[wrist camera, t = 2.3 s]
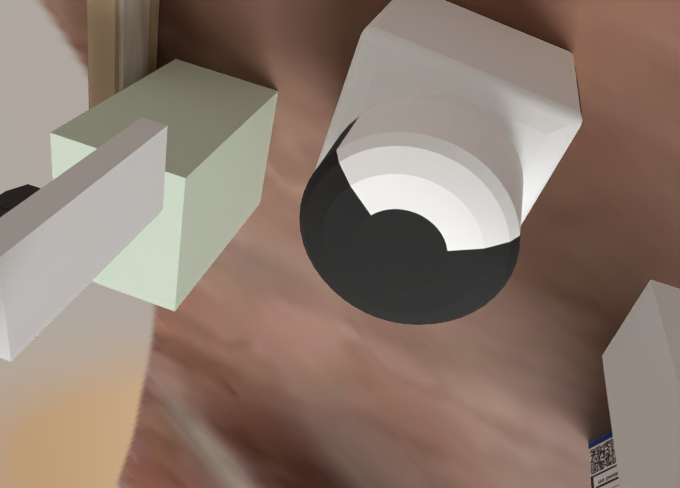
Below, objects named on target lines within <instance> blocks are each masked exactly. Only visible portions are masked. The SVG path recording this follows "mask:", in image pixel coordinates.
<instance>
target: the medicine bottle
mask: <svg viewBox="0 0 680 488" xmlns="http://www.w3.org/2000/svg"><path fill="white" fill-rule="evenodd" d="M582 120H583V119H582V111H581V104H580V96H579V89H578V81H577V74H576V66H575V59H574V56H573V54H572V53H570V52H569V51H567V50H564V49H562V48H559V47H557V46H555V45H552V44H550V43H547V42H545V41H543V40H540V39H538V38H535V37H533V36H530V35H528V34H526V33H523V32H521V31H518V30H516V29H513V28H511V27H509V26H506V25H504V24H501V23H499V22H496V21H494V20H492V19H489V18H487V17H484V16H482V15H480V14H477V13H475V12H472V11H470V10H467V9H465V8H463V7H460V6H458V5H455V4H453V3H450V2H448V1H446V0H392V1H391V2H390V3H389V4H388V5H387V6H386V7H385V8H384V9H383V10H382V11H381V12H380V13H379V14H378V15H377V16H376V17H375V18H374V19H373V20H372V22H371V23H370V24H369V25H368V26H367V27H366V28H365V29H364V30H363V32H362V33H361V36H360V39H359V42H358V45H357V47H356V50H355V53H354V56H353V59H352V62H351V65H350V68H349V71H348V74H347V77H346V80H345V83H344V86H343V89H342V92H341V95H340V98H339V101H338V104H337V107H336V110H335V113H334V115H333V118H332V121H331V124H330V127H329V130H328V133H327V136H326V139H325V142H324V145H323V148H322V151H321V154H320V157H319V160H318V163H317V166H316V169H315V172H314V173H313V175H312V177H311V178H310V180H309V182H308V184H307V186H306V189H305V191H304V194H303V198H302V202H301V207H300V231H301V235H302V240H303V244H304V247H305V249H306V252H307V255H308V257H309V259H310V261H311V262H312V264H313V266H314V268H315V269H316V271H317V272H318V273H319V275H320V276H321V278H322V279H323V280H324V281H325V282H326V283H327V284H328V285H329V287H330V288H331V289H332V290H333V291H335V292H336V293H337V294H338V295H339V296H340V297H342V298H343V299H344V300H345V301H347V302H348V303H350V304H351V305H353V306H354V307H356V308H358V309H360V310H361V311H363V312H365V313H367V314H370V315H372V316H375V317H377V318H380V319H384V320H387V321H391V322H396V323H402V324H415V325H421V324H436V323H442V322H448V321H451V320H455V319H458V318H461V317H464V316H466V315H468V314H470V313H473V312H474V311H476V310H478V309H479V308H481V307H483V306H484V305H486V304H487V303H488V302H489V301H490V300H492V299H493V298H494V297H495V296H496V295H497V294H498V293H499V291H500V290H501V289H502V288H503V287H504V286H505V284H506V282H507V281H508V279H509V278H510V276H511V274H512V272H513V269H514V267H515V264H516V261H517V257H518V253H519V246H520V230H521V225H522V223H523V221H524V220H525V218H526V216H527V215H528V213H529V211H530V210H531V208H532V206H533V205H534V203H535V201H536V200H537V198H538V196H539V195H540V193H541V191H542V190H543V188H544V186H545V185H546V183H547V181H548V180H549V178H550V176H551V175H552V173H553V171H554V170H555V168H556V166H557V165H558V163H559V161H560V160H561V158H562V156H563V155H564V153H565V151H566V150H567V148H568V146H569V145H570V143H571V141H572V140H573V138H574V136H575V135H576V133H577V132H578V130H579V128H580V127H581V124H582Z"/></svg>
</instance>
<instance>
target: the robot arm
mask: <svg viewBox="0 0 680 488" xmlns="http://www.w3.org/2000/svg"><path fill="white" fill-rule="evenodd" d="M167 129H168V125H164V124H161V123H158V122H155V121H152V120H149V119H146V118H143V117H141V118H140V119H138V120H137V121H135V122H134V123H133V124H131V125H130V126H128V127H127V128H126V129H124V130H123V131H121V132H120V133H119V134H117V135H116V136H114V137H113V138H112V139H110V140H109V141H107V142H106V143H104V144H103V145H102V146H100V147H99V148H97V149H96V150H95V151H93V152H92V153H90V154H89V155H88V156H86V157H85V158H83V159H82V160H81V161H79V162H78V163H76V164H75V165H73V166H72V167H71V168H69V169H68V170H66V171H65V172H64V173H62V174H61V175H59V176H58V177H57V178H55V179H54V180H52V181H51V182H50V183H48V184H47V185H46V186H44V187H43V188H41V189H40V188H38V187H35V186H31V185H29V184H27V185H24V186H21V187H18V188H15V189H12V190H8V191H6V192H4V193H2V194H1V195H0V358H2V359H5V360H8V361H13V360H14V359H15V357H16V356H18V355H19V354H20V352H21V351H22V350H24V349H25V348H26V347H27V345H29V344H30V343H31V342H32V341H33V339H35V338H36V337H37V335H38V334H40V333H41V332H42V331H43V329H45V328H46V327H47V325H49V323H51V321H53V320H54V318H56V317H57V315H59V313H60V312H62V310H64V309H65V308H66V307H67V306H68V304H70V302H72V301H73V299H75V298H76V296H77V295H78V294H79V293H80V292H81V291H82V290H83V289H84V288H85V287H86V286H87V285H88V284H89V283H90V282H91V281H92V280H93V279H94V278H95V277H96V276H97V275H98V274H99V273H100V272H101V271H102V270H103V269H104V268H105V267H106V266H107V265H108V264H109V263H110V262H111V261H112V260H113V259H114V258H115V257H116V256H117V255H118V254H119V253H120V252H121V251H122V250H123V249H124V248H125V247H126V246H127V245H128V244H129V243H130V242H131V241H132V240H133V239H134V238H135V237H136V236H137V235H138V234H139V233H140V232H141V231H142V230H143V229H144V228H145V227H146V226H147V225H148V224H149V223H150V222H151V221H152V220H153V219H154V218H155V217H156V216H157V215H158V214H159V213H160V212H161V211H162V210H163V196H164V179H165V162H166V145H167ZM602 360H603V368H604V375H605V382H606V390H607V397H608V405H609V412H610V419H611V427H612V434H613V442H614V449H615V457H616V464H617V471H618V479H619V486H620V488H680V289H679V288H676V287H673V286H670V285H667V284H664V283H660V282H657V281H654V280H651V279H650V281H649V282H648V284H647V286H646V287H645V289H644V290H643V292H642V294H641V295H640V297H639V298H638V300H637V301H636V303H635V305H634V306H633V308H632V309H631V311H630V312H629V314H628V316H627V317H626V319H625V320H624V322H623V323H622V325H621V327H620V328H619V330H618V331H617V333H616V334H615V336H614V338H613V339H612V341H611V342H610V344H609V346H608V347H607V349H606V350H605V352H604V353H603V355H602Z"/></svg>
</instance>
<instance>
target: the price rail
mask: <svg viewBox="0 0 680 488" xmlns="http://www.w3.org/2000/svg"><path fill="white" fill-rule="evenodd" d="M158 22H159V0H87V29H88V81H89V110H90V109H91V108H93V107H95V106H96V105H98V104H100V103H102V102H103V101H105V100H107V99H108V98H110V97H112V96H113V95H115V94H117V93H119V92H120V91H122V90H124V89H125V88H127V87H129V86H130V85H132V84H134V83H135V82H137V81H139V80H141V79H142V78H144V77H146V76H147V75H149V74H151V73H152V72H154V71H156V66H157V44H158Z"/></svg>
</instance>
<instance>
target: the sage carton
mask: <svg viewBox="0 0 680 488" xmlns="http://www.w3.org/2000/svg"><path fill="white" fill-rule="evenodd" d="M277 96H278V91H276V90H273V89H270V88H267V87H263V86H260V85H257V84H254V83H251V82H248V81H244V80H241V79H238V78H235V77H232V76H229V75H225V74H222V73H219V72H216V71H213V70H210V69H206V68H203V67H200V66H197V65H194V64H191V63H187V62H184V61H181V60H178V59H175V60H173V61H171V62H169V63H168V64H166V65H164V66H163V67H161V68H159V69H158V70H156V71H154V72H152V73H151V74H149V75H147V76H146V77H144V78H142V79H141V80H139V81H137V82H135V83H134V84H132V85H130V86H129V87H127V88H125V89H124V90H122V91H120V92H119V93H117V94H115V95H113V96H112V97H110V98H108V99H107V100H105V101H103V102H102V103H100V104H98V105H96V106H95V107H93V108H91V109H90V110H88V111H86V112H85V113H83V114H81V115H79V116H78V117H76V118H74V119H73V120H71V121H69V122H68V123H66V124H64V125H62V126H61V127H59V128H57V129H56V130H54V131H52V132H51V133H50V138H51V155H52V172H53V180H54V179H55V178H57V177H58V176H59V175H61V174H62V173H64V172H65V171H66V170H68V169H69V168H71V167H72V166H73V165H75V164H76V163H78V162H79V161H81V160H82V159H83V158H85V157H86V156H88V155H89V154H90V153H92V152H93V151H95V150H96V149H97V148H99V147H100V146H102V145H103V144H104V143H106V142H107V141H109V140H110V139H112V138H113V137H114V136H116V135H117V134H119V133H120V132H121V131H123V130H124V129H126V128H127V127H128V126H130V125H131V124H133V123H134V122H135V121H137V120H138V119H140V118H141V117H143V118H146V119H149V120H152V121H155V122H158V123H161V124H164V125H168V129H167V145H166V162H165V179H164V196H163V210H162V211H161V212H160V213H159V214H158V215H157V216H156V217H155V218H154V219H153V220H152V221H151V222H150V223H149V224H148V225H147V226H146V227H145V228H144V229H143V230H142V231H141V232H140V233H139V234H138V235H137V236H136V237H135V238H134V239H133V240H132V241H131V242H130V243H129V244H128V245H127V246H126V247H125V248H124V249H123V250H122V251H121V252H120V253H119V254H118V255H117V256H116V257H115V258H114V259H113V260H112V261H111V262H110V263H109V264H108V265H107V266H106V267H105V268H104V269H103V270H102V271H101V272H100V273H99V274H98V275H97V276H96V277H95V278H94V279H93V280H92V282H95V283H97V284H100V285H103V286H106V287H109V288H112V289H114V290H117V291H120V292H122V293H125V294H128V295H131V296H133V297H136V298H139V299H142V300H145V301H147V302H150V303H153V304H156V305H158V306H161V307H164V308H167V309H170V310H172V311H175V310H176V309H177V308H178V307H179V305H180V304H181V303H182V302H183V300H184V299H185V298H186V296H187V295H188V294H189V293H190V291H191V290H192V289H193V288H194V286H195V285H196V284H197V282H198V281H199V280H200V279H201V277H202V276H203V275H204V274H205V272H206V271H207V270H208V269H209V267H210V266H211V265H212V263H213V262H214V261H215V260H216V258H217V257H218V256H219V255H220V253H221V252H222V251H223V249H224V248H225V247H226V246H227V244H228V243H229V242H230V241H231V239H232V238H233V237H234V236H235V234H236V233H237V232H238V230H239V229H240V228H241V227H242V225H243V224H244V223H245V222H246V220H247V219H248V218H249V216H250V215H251V214H252V213H253V211H254V210H255V209H256V208H257V206H258V205H259V204H260V200H261V194H262V188H263V182H264V176H265V170H266V164H267V158H268V151H269V145H270V139H271V133H272V127H273V121H274V115H275V109H276V102H277Z"/></svg>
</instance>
